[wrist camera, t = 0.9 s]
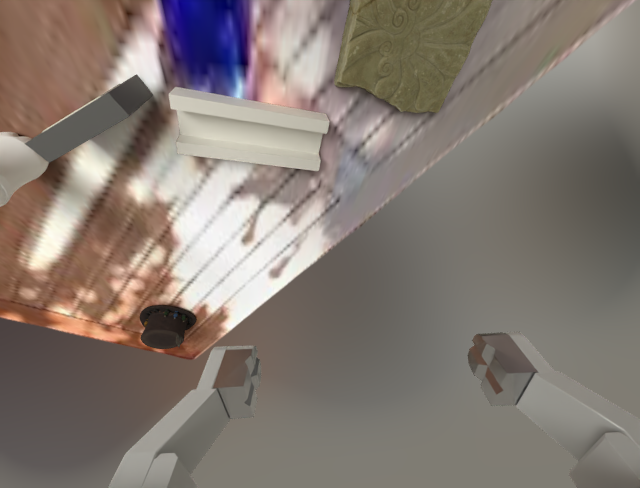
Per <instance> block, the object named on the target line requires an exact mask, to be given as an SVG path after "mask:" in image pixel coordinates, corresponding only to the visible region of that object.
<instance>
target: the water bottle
mask: <svg viewBox="0 0 640 488" xmlns="http://www.w3.org/2000/svg"><path fill="white" fill-rule="evenodd" d="M31 139H32V138H30V137H25V136H20V137H19V136H18V134H17V133H13V132H1V133H0V207H1V206H3V205H5V204H6V203H7V202H8V201H9V199H10V198H11V196H12V194H13V193H14V192H15V191H16V190H17V189H18V188H20V187H21V186H22V185H24V184H26V183H28V182H30V181H32V180H34V179H37V178H38V177H39V176H40V175H42V174H43V173H44V172H45V170H46V169H47V167H48V164H49V162H47V161H46V160H45V159H44V158H42V157H41V156H40V155H38V154H37V153H36V152H35V151H33V150H32V149H31V148H29V147H28V146H27V145H26V144H25V143H26V142H28V141H30V140H31Z"/></svg>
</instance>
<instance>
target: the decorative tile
mask: <svg viewBox="0 0 640 488" xmlns="http://www.w3.org/2000/svg"><path fill="white" fill-rule="evenodd" d="M491 2H492V0H350V4H349V5H350V7H349V10H348V15H347V20H346V24H345V28H344V33H343V38H342V44H341V49H340V55H339V59H338V64H337V69H336V75H335V80H334V81H335V85H336V86H338V87H355V86H357V87H360V88H362V89H365V90H366V91H367V92H370V93H371V94H373V95H374V96H375V97H377V98H380V99H384V100H385V102H388V103H390V104H391V105H393V106H395V107H396V108H397V109H398V110H399V111H401V112H403V111H407V112H415V113H421V112H427V111H429V112H435V113H438V112H439V110H440V108H441V106H442V104H443V102H444V100H445V98H446V96H447V94H448V92H449V90H450V88H451V85H452V83H453V81H454V79H455V77H456V76H457V75H458V73H459V72H460V70H461V68H462V65H463V64H464V62H465V60H466V58H467V56H468V54H469V52H470V48H471V45H472V43H473V41H474V38H475V36H476V34H477V32H478V31H479V29H480V28H481V26H482V24H483V22H484V20H485V18H486V16H487V13H488V11H489V8H490V6H491Z"/></svg>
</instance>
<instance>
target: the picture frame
mask: <svg viewBox="0 0 640 488" xmlns="http://www.w3.org/2000/svg"><path fill="white" fill-rule="evenodd" d="M152 95H153V94H152V93H151V92H150V90H149V89H148V88H147V87H146V85H145V84H144V83H143V82H142V80H141V79H140V78H139V77H138V75H137V74H136V75H135V76H133V77H132V78H130V79H128V80H127V81H125V82H123V83H122V84H118V85H117V86H115V87H114V88H112V89H110V90H109V91H107V92H105V93H104V94H102V95H101V96H99V97H97V98H96V99H94V100H92V101H91V102H89V103H87V104H86V105H84V106H83V107H81V108H79V109H78V110H76V111H74V112H73V113H71V114H70V115H68V116H66V117H65V118H63V119H62V120H60V121H58V122H57V123H55V124H54V125H52V126H50V127H49V128H47V129H46V130H44V131H42V133H41V134H39V135H38V136H36V137H34V138H33V139H31V140H30V141H28V142H26V143H25V144H26V145H27V146H28V147H29V148H31V149H32V150H33V151H35V152H36V153H37V154H38V155H40V156H41V157H42V158H44V159H45V160H46V161H47V162H49V163H50V162H52V161H53V160H55V159H57V158H59V157H60V156H62V155H64V154H65V153H67V152H69V151H71V150H72V149H74V148H76V147H77V146H79V145H81V144H83V143H84V142H86V141H88V140H89V139H91V138H93V137H95V136H96V135H98V134H100V133H102V132H103V131H105V130H107V129H108V128H110V127H112V126H114V125H115V124H117V123H119V122H120V121H122V120H124V119H126V118H127V117H129V116H130V115H131V114H132V113H134V112H135V111H136V110H137V109H138V108H139V107H140V106H141V105H142V104H143V103H145V102H146V101H147V100H148V99H149V98H150V97H151V96H152Z"/></svg>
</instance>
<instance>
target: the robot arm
mask: <svg viewBox="0 0 640 488" xmlns="http://www.w3.org/2000/svg"><path fill="white" fill-rule="evenodd" d="M472 341H473V343H474V346H473V347H471V348H470V349H469V353H468V363H469V366H470V368H471V370H472V372H473V374H474V376H476V377H477V378H479V379H480V380H481V381H482V382H481V388H482V390H483V392H484V394H485V396H486V397H487V399H488V401H489V403H490V404H491V406H500V405H501V406H505V405H517V406H516V407H517V408H518V409H519V410H520V411H522V412H523V413H524V414H525V415H526V416H527V417H529V418H530V419H531V420H532V421H533V422H534V423H535V424H537V425H538V426H539V427H540V428H541V429H542V430H543V431H545V432H546V433H547V434H548V435H549V436H550V437H552V438H553V439H554V440H555V441H556V442H557V443H558V444H560V445H561V446H562V447H563V448H564V449H565V450H566V451H568V452H569V453H570V454H571V455H572V456H573V457H575V458H576V459H577V460H578V462H577V463H576V465H575V466H573V468H572V469H571V470H570V473H569V476H570V477H571V479H572V480H573V482H574V483H575V485H576V487H577V488H640V419H638V418H637V417H635V416H633V415H632V414H630V413H628V412H627V411H625V410H623V409H622V408H620V407H618V406H616V405H615V404H613V403H611V402H610V401H608V400H606V399H605V398H603V397H601V396H600V395H598V394H596V393H595V392H593V391H591V390H590V389H587V388H586V387H584V386H583V385H581V384H579V383H578V382H576V381H574V380H573V379H571V378H569V377H568V376H566V375H564V374H563V373H561V372H555V371H554V370H553V369H552V367H551V366H550V365H549V364H548V363H547V362H546V360H545V359H544V358H543V357H542V356H541V355H540V353H539V352H538V351H537V350H536V349H535V348H534V346H533V345H532V344H531V343H530V342H529V341H528V340H527V338H526V337H525V336H524V335H523V334H522V333H520V332H507V333H502V332H501V333H487V334H486V333H485V334H476V335H475V336H474V338H473V340H472ZM260 380H261V363H260V360H259V359H258V358H257V348H256V346H229V347H228V346H227V347H214V349H213V350H212V351H211V353H210V356H209V359H208V361H207V364H206V366H205V369H204V371H203V374H202V376H201V379H200V382H199V384H198V387H197V389H196V390H192V391H190V392H189V393H188V394H187V395H186V396H185V397H184V398H183V399H182V400H181V401H180V402H179V403H178V404H177V405H176V406H175V407H174V408H173V409H172V410H171V411H170V412H169V413H167V414H166V415H165V417H163V418H162V419H161V420H160V421H159V422H158V423H157V424H156V425H155V426H154V427H153V428H152V429H151V430H150V431H149V432H148V433H147V434H146V435H144V436H143V437H142V439H140V440H139V441H138V442H137V443H136V444H135V445H134V446H133V447H132V448H131V449H130V450H129V451H128V452H127V453H126V454H125V456H124V458H123V460H122V462H121V464H120V465H119V467H118V469H117V471H116V473H115V475H114V477H113V479H112V481H111V483H110V485H109V487H108V488H199V487H198V486H197V484H196V482H195V481H194V480H193V478H192V477H191V473H192V472H193V470H194V469H195V468H196V466H197V465H198V464H199V462H200V461H201V460H202V458H203V457H204V455H205V454H206V453H207V451H208V450H209V449H210V447H211V446H212V444H213V443H214V441H215V440H216V439H217V437H218V436H219V435H220V433H221V432H222V431H223V429H224V428H225V426H226V425H227V424H228V422H229V419H235V418H248V417H254V412H255V407H256V401H257V396H256V393H255V390H256V389H257V388H258V387H259V385H260Z"/></svg>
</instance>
